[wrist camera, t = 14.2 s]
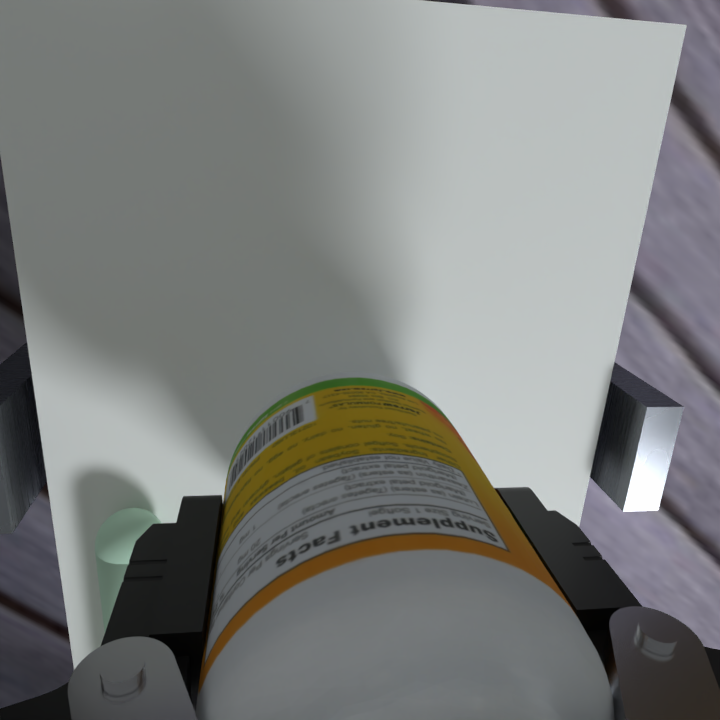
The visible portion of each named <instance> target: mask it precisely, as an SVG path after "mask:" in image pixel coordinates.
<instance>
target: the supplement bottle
mask: <svg viewBox="0 0 720 720" xmlns="http://www.w3.org/2000/svg"><path fill="white" fill-rule="evenodd" d="M196 716H197V719H198V720H615V718H614V703H613V697H612V693H611V689H610V685H609V681H608V677H607V674H606V671H605V669H604V666H603V664H602V661H601V659H600V657H599V654H598V652H597V650H596V648H595V647H594V645H593V643H592V641H591V640H590V638H589V636H588V635H587V633H586V631H585V629H584V628H583V626H582V624H581V622H580V621H579V619H578V617H577V615H576V614H575V612H574V611H573V609H572V608H571V606H570V604H569V603H568V601H567V600H566V598H565V597H564V595H563V594H562V592H561V591H560V589H559V588H558V586H557V585H556V583H555V582H554V580H553V578H552V577H551V575H550V574H549V572H548V571H547V569H546V568H545V566H544V565H543V563H542V562H541V560H540V559H539V557H538V556H537V554H536V552H535V551H534V549H533V548H532V546H531V545H530V543H529V542H528V540H527V539H526V537H525V535H524V534H523V532H522V531H521V529H520V528H519V526H518V525H517V523H516V522H515V520H514V518H513V517H512V515H511V513H510V511H509V510H508V508H507V507H506V505H505V504H504V503H503V501H502V500H501V498H500V497H499V495H498V494H497V492H496V490H495V489H494V487H493V486H492V484H491V483H490V481H489V480H488V478H487V477H486V475H485V473H484V472H483V470H482V469H481V467H480V465H479V464H478V462H477V461H476V459H475V458H474V456H473V455H472V453H471V452H470V450H469V448H468V447H467V445H466V444H465V442H464V441H463V439H462V438H461V436H460V435H459V433H458V432H457V430H456V429H455V427H454V426H453V425H452V423H451V422H450V421H449V419H448V418H447V417H446V415H445V414H444V413H443V412H442V410H441V409H440V408H439V407H438V406H437V405H436V404H435V403H434V402H433V401H432V400H430V399H429V398H428V397H427V396H425V395H424V394H423V393H421V392H420V391H418V390H417V389H415V388H413V387H411V386H409V385H407V384H405V383H403V382H400V381H398V380H395V379H392V378H389V377H385V376H381V375H377V374H371V373H362V372H341V373H334V374H328V375H323V376H319V377H316V378H313V379H310V380H307V381H304V382H302V383H300V384H298V385H296V386H294V387H291V388H290V389H288V390H286V391H284V392H283V393H281V394H279V395H278V396H276V397H275V398H274V399H272V400H271V401H270V402H269V403H267V404H266V405H265V406H264V407H263V408H262V409H261V410H260V411H259V412H258V413H257V414H256V415H255V416H254V418H253V419H252V420H251V421H250V422H249V424H248V425H247V427H246V428H245V429H244V431H243V433H242V434H241V436H240V438H239V440H238V442H237V444H236V446H235V449H234V451H233V454H232V457H231V461H230V464H229V469H228V474H227V478H226V485H225V492H224V499H223V506H222V515H221V523H220V530H219V538H218V546H217V553H216V561H215V568H214V576H213V583H212V591H211V599H210V606H209V614H208V621H207V629H206V637H205V644H204V652H203V657H202V665H201V672H200V680H199V688H198V696H197V704H196Z"/></svg>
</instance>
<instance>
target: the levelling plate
mask: <svg viewBox="0 0 720 720" xmlns="http://www.w3.org/2000/svg"><path fill="white" fill-rule="evenodd" d="M686 26H687V25H681V24H670V23H659V22H649V21H638V20H627V19H617V18H606V17H595V16H584V15H574V14H563V13H552V12H541V11H531V10H520V9H509V8H499V7H488V6H477V5H466V4H456V3H445V2H434V1H423V0H0V156H1V163H2V170H3V177H4V184H5V191H6V198H7V205H8V212H9V219H10V226H11V233H12V240H13V247H14V254H15V261H16V268H17V275H18V282H19V289H20V296H21V303H22V310H23V317H24V324H25V331H26V337H27V344H28V351H29V358H30V365H31V372H32V379H33V386H34V393H35V400H36V407H37V414H38V421H39V428H40V435H41V442H42V449H43V456H44V463H45V470H46V477H47V484H48V491H49V498H50V505H51V512H52V519H53V526H54V533H55V540H56V547H57V554H58V561H59V568H60V575H61V582H62V589H63V596H64V603H65V610H66V617H67V624H68V631H69V638H70V645H71V652H72V659H73V666H74V670H75V668H76V667H77V665H78V664H79V663H80V662H81V661H82V660H83V659H84V658H85V657H86V656H87V655H88V654H90V653H91V652H92V651H94V650H95V649H97V648H99V647H100V646H101V643H102V640H103V637H104V634H105V631H106V628H107V625H108V622H109V620H110V617H111V614H112V611H113V608H114V605H115V602H116V599H117V596H118V593H119V590H120V587H121V584H122V582H123V580H124V575H125V572H126V569H127V566H128V565H129V560H130V557H131V554H132V551H133V548H134V545H135V542H136V540H137V539H138V538H139V537H140V536H141V535H142V534H143V533H144V532H145V531H146V530H147V529H148V528H149V527H150V526H151V525H152V524H157V523H176V522H177V517H178V513H179V509H180V505H181V501H182V498H183V496H204V495H222V500H223V499H224V492H225V485H226V478H227V474H228V469H229V464H230V461H231V457H232V454H233V451H234V449H235V446H236V444H237V442H238V440H239V438H240V436H241V434H242V433H243V431H244V429H245V428H246V427H247V425H248V424H249V422H250V421H251V420H252V419H253V418H254V416H255V415H256V414H257V413H258V412H259V411H260V410H261V409H262V408H263V407H264V406H265V405H266V404H267V403H269V402H270V401H271V400H272V399H274V398H275V397H276V396H278V395H279V394H281V393H283V392H284V391H286V390H288V389H290V388H291V387H294V386H296V385H298V384H300V383H302V382H304V381H307V380H310V379H313V378H316V377H319V376H323V375H328V374H334V373H341V372H362V373H371V374H377V375H381V376H385V377H389V378H392V379H395V380H398V381H400V382H403V383H405V384H407V385H409V386H411V387H413V388H415V389H417V390H418V391H420V392H421V393H423V394H424V395H425V396H427V397H428V398H429V399H430V400H432V401H433V402H434V403H435V404H436V405H437V406H438V407H439V408H440V409H441V410H442V412H443V413H444V414H445V415H446V417H447V418H448V419H449V421H450V422H451V423H452V425H453V426H454V427H455V429H456V430H457V432H458V433H459V435H460V436H461V438H462V439H463V441H464V442H465V444H466V445H467V447H468V448H469V450H470V452H471V453H472V455H473V456H474V458H475V459H476V461H477V462H478V464H479V465H480V467H481V469H482V470H483V472H484V473H485V475H486V477H487V478H488V480H489V481H490V483H491V484H492V486H493V487H494V488H508V487H529V488H530V489H531V490H532V491H533V492H534V493H535V495H536V496H537V497H538V499H539V500H540V501H541V503H542V504H543V505H544V507H545V508H546V509H547V511H552V510H556V511H557V512H559V513H560V514H562V515H563V516H565V517H566V518H568V519H569V520H571V521H572V522H573V523H575V524H576V525H577V526H578V527H579V525H580V520H581V515H582V511H583V506H584V501H585V497H586V492H587V487H588V483H589V478H590V473H591V469H592V464H593V459H594V455H595V450H596V446H597V441H598V436H599V432H600V427H601V422H602V418H603V413H604V408H605V404H606V399H607V394H608V390H609V385H610V380H611V376H612V371H613V366H614V362H615V357H616V352H617V348H618V343H619V338H620V334H621V329H622V324H623V320H624V315H625V310H626V306H627V301H628V296H629V292H630V287H631V282H632V278H633V273H634V268H635V264H636V259H637V254H638V250H639V245H640V240H641V236H642V231H643V226H644V222H645V217H646V212H647V208H648V203H649V198H650V194H651V189H652V184H653V180H654V175H655V170H656V166H657V161H658V156H659V152H660V147H661V142H662V138H663V133H664V129H665V124H666V119H667V115H668V110H669V105H670V101H671V96H672V91H673V87H674V82H675V77H676V73H677V68H678V63H679V59H680V54H681V49H682V45H683V40H684V35H685V31H686Z"/></svg>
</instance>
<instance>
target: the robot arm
mask: <svg viewBox="0 0 720 720" xmlns="http://www.w3.org/2000/svg"><path fill="white" fill-rule="evenodd" d="M494 489H495V490H496V492H497V494H498V495H499V497H500V498H501V500H502V501H503V503H504V504H505V505H506V507H507V508H508V510H509V511H510V513H511V515H512V517H513V518H514V520H515V522H516V523H517V525H518V526H519V528H520V529H521V531H522V532H523V534H524V535H525V537H526V539H527V540H528V542H529V543H530V545H531V546H532V548H533V549H534V551H535V552H536V554H537V556H538V557H539V559H540V560H541V562H542V563H543V565H544V566H545V568H546V569H547V571H548V572H549V574H550V575H551V577H552V578H553V580H554V582H555V583H556V585H557V586H558V588H559V589H560V591H561V592H562V594H563V595H564V597H565V598H566V600H567V601H568V603H569V604H570V606H571V608H572V609H573V611H574V612H575V614H576V615H577V617H578V619H579V621H580V622H581V624H582V626H583V628H584V629H585V631H586V633H587V635H588V636H589V638H590V640H591V641H592V643H593V645H594V647H595V648H596V650H597V652H598V654H599V657H600V659H601V661H602V664H603V666H604V669H605V671H606V674H607V677H608V681H609V685H610V689H611V693H612V697H613V703H614V718H615V720H720V650H717V649H712V648H708V647H704V646H703V644H702V642H701V641H700V639H699V638H698V636H697V635H696V634H695V633H694V632H693V631H692V630H691V629H690V628H689V627H687V626H686V625H685V624H683V623H682V622H681V621H679V620H677V619H676V618H674V617H672V616H670V615H668V614H666V613H664V612H661V611H658V610H655V609H651V608H647V607H642V605H641V604H640V603H639V602H638V600H637V599H636V598H635V597H634V595H633V594H632V593H631V592H630V590H629V589H628V588H627V587H626V585H625V584H624V583H623V582H622V580H621V579H620V578H619V577H618V575H617V574H616V573H615V572H614V570H613V569H612V568H611V567H610V565H609V564H608V563H607V562H606V560H602V555H601V554H600V553H599V552H598V550H597V549H596V548H595V547H594V545H591V542H590V540H589V539H588V538H587V537H586V535H585V534H584V533H583V532H582V531H581V529H580V528H579V527H578V526H577V525H576V524H575V523H573V522H572V521H571V520H569V519H568V518H566V517H565V516H563V515H562V514H560V513H559V512H557V511H556V510H552V511H547V509H546V508H545V507H544V505H543V504H542V503H541V501H540V500H539V499H538V497H537V496H536V495H535V493H534V492H533V491H532V490H531V489H530V488H529V487H508V488H494ZM222 506H223V500H222V495H204V496H183V498H182V501H181V505H180V509H179V513H178V517H177V522H176V523H157V524H152V525H151V526H150V527H149V528H148V529H147V530H146V531H145V532H144V533H143V534H142V535H141V536H140V537H139V538H138V539H137V540H136V542H135V545H134V548H133V551H132V554H131V557H130V560H129V565H128V566H127V569H126V572H125V575H124V580H123V582H122V584H121V587H120V590H119V593H118V596H117V599H116V602H115V605H114V608H113V611H112V614H111V617H110V620H109V622H108V625H107V628H106V631H105V634H104V637H103V640H102V643H101V646H100V647H99V648H97V649H95V650H94V651H92V652H91V653H90V654H88V655H87V656H86V657H85V658H84V659H83V660H82V661H81V662H80V663H79V664H78V665H77V667H76V668H75V670H74V671H73V673H72V675H71V677H70V680H69V682H68V683H66V684H65V685H63V686H62V687H60V688H58V689H55V690H53V691H51V692H49V693H46V694H44V695H41V696H38V697H35V698H32V699H29V700H26V701H23V702H20V703H17V704H14V705H10V706H7V707H4V708H1V709H0V720H198V719H197V716H196V704H197V696H198V688H199V680H200V672H201V665H202V657H203V652H204V644H205V637H206V629H207V621H208V614H209V606H210V599H211V591H212V583H213V576H214V568H215V561H216V553H217V546H218V538H219V530H220V523H221V515H222Z"/></svg>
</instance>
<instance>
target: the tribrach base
mask: <svg viewBox="0 0 720 720" xmlns="http://www.w3.org/2000/svg"><path fill="white" fill-rule="evenodd" d="M683 409H684V407H683V406H682V405H680V404H679V403H677V402H676V401H674V400H672V399H671V398H669V397H668V396H666V395H665V394H663V393H662V392H660V391H658V390H657V389H655V388H654V387H652V386H651V385H649V384H647V383H646V382H644V381H643V380H641V379H640V378H638V377H637V376H635V375H633V374H632V373H630V372H629V371H627V370H626V369H624V368H622V367H621V366H619V365H618V364H616V363H615V362H614V366H613V371H612V376H611V380H610V385H609V390H608V394H607V399H606V404H605V408H604V413H603V418H602V422H601V427H600V432H599V436H598V441H597V446H596V450H595V455H594V459H593V464H592V469H591V473H590V477H591V478H592V479H593V480H594V481H595V482H596V483H597V485H598V486H599V487H600V488H601V489H602V490H603V491H604V492H605V493H606V494H607V495H608V496H609V497H610V498H611V499H612V500H613V501H614V502H615V503H616V504H617V505H618V507H619V508H620V509H621V510H622V511H623V512H626V511H653V510H658V509H659V505H660V501H661V497H662V493H663V489H664V485H665V481H666V477H667V473H668V469H669V465H670V461H671V457H672V453H673V449H674V445H675V441H676V437H677V433H678V429H679V425H680V421H681V417H682V413H683ZM46 482H47V477H46V470H45V463H44V456H43V449H42V442H41V435H40V428H39V421H38V414H37V407H36V400H35V393H34V386H33V379H32V372H31V365H30V358H29V351H28V344H27V343H26V344H24V345H23V346H22V347H21V348H20V349H18V350H17V351H16V352H15V353H14V354H12V355H11V356H10V357H9V358H7V359H6V360H5V361H4V362H3V363H1V364H0V534H12V533H13V532H14V530H15V529H16V527H17V526H18V524H19V522H20V521H21V519H22V518H23V516H24V515H25V513H26V512H27V510H28V509H29V507H30V506H31V504H32V503H33V501H34V500H35V498H36V497H37V495H38V494H39V492H40V491H41V489H42V488H43V486H44V485H45V483H46Z"/></svg>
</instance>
